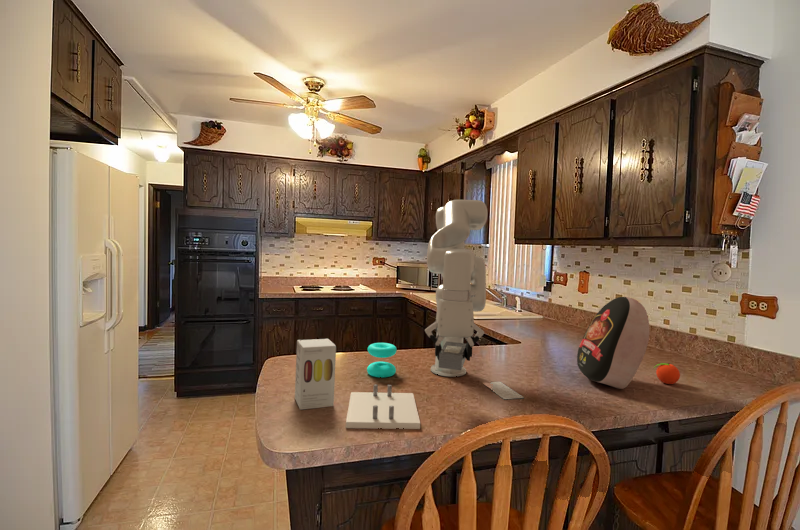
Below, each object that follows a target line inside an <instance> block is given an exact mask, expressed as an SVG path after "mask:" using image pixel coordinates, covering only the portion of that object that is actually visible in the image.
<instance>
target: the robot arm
mask: <svg viewBox="0 0 800 530" xmlns="http://www.w3.org/2000/svg"><path fill="white" fill-rule="evenodd" d="M435 212H436V213H435V224H436V225H435V227H436V230H437V231H436V232H435V233H434V234H433V235H432V236H431V238H430V239H429V241H428V245H427V252H426V253H427V254H426V266H427V270H428V271H429V272H430V273H432V274H437V275H438V274H439V275H441V277H442V280H443V281H442V284H439V286H437V288H436V290H435V302H436V303H435V304H436V315H435V321H434V322H433V323H431V324H430V325H428V326H427V327H426V328H425V329H424V332H425V334H426V336H427V337H428V338H429V339H430V340H431V342H432V343H434V357H435V363H434V364H432V365H431V366H430V372H432V374H435V375H437V374H438V376H441V377H448V378H452V377H453V378H454V377H456V376H457V377H462V376H465V375H466V374H467V369H466V368H465V367H464V366H463V367H462V370H455V369H446V368H439V353H440V351H441V349H442V348H443V346H444V344H445V343H446V341H447V342H456V343H464V338H465V340H466V349H465V358H466V359H465V360H466V361H468V362H469V361H470V360H471V358H473V347H474V345H475V344H476V343H477V342H478V341H480V338H482V337H483V335H484V334H485V331H484V330H483V329H482V328H480V327H479V326H478V325H477V324H476V323H475V316H474V312H482V311H484V309H485V307H486V301H487V282H486V281H487V277H486V276H487V273H486V270H487V269H486V263H485V260H484V258H483V257H482V256H479V255H476V254H475V253H474V251H472V249H468V248H467V249H466V248H465V247H466V243H465V241H467V239H468V238H469V236H470V234H471V232H470V231H479V230H482V228H483V227H484V226H485V225H486V223H487V221H488V208H487V204H486V203H485V202H484V201H482V200H478V199H453V200H449V201H448V202H447V203H446V204H445V205H444V206H441V207H439V208H438V209H437V210H436V211H435ZM434 330H435V332H436V336H435V335H434V334H433V331H434ZM475 331H476V333H475V335H474V332H475Z"/></svg>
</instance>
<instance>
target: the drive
mask: <svg viewBox="0 0 800 530" xmlns="http://www.w3.org/2000/svg"><path fill="white" fill-rule="evenodd" d="M466 344H467V342H466V343H464V342H463V343H456V342H447V341H446V343H445V344H444V346H443V348H442V349H441V351H440V353H439V368H446V369H455V370H462V367H464V364H465V361H466V360H467V359H466V358H465V349H466Z"/></svg>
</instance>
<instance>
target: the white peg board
mask: <svg viewBox="0 0 800 530" xmlns="http://www.w3.org/2000/svg"><path fill="white" fill-rule="evenodd" d="M378 386H379V385H378V384H377V383H376V384H373V387H372V389H373V392H371V391H369V392H365V391H362V392H361V391H360V392H359V391H351V392H350V396H349V402H348V409H347V412H346V413H347V414H346V421H345V429H378V428H379V429H380V428H382V429H385V430H389V429H392V430H396V428H399V430H420V429H421V420H420V417H419V412H418V408H417V404H416V399H415V396H414V393H413V392H392V390H393V389H392V388H393V385H392V384H387V391H386V392H378V391H379V390H378V389H379V387H378ZM403 428H404V429H403ZM380 430H381V429H380Z"/></svg>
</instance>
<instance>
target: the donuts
mask: <svg viewBox="0 0 800 530" xmlns="http://www.w3.org/2000/svg"><path fill="white" fill-rule="evenodd" d="M367 352H368V354H369V355H370V356H372V357H374V358H380V359H381V358H382V359H387V358H391V357H393V356H394V355H396V353H397V352H398V351H397V346H395V345H394V344H392V343H388V342H374V343H371V344H369V345H368V347H367ZM396 368H397V367H396V366H395V364H393V363H391V362H388V361H374V362H371V363H370V364H369V365H368V366H367V368H366V372H367V374H368V375H369V376H371V377H374V378H380V377H381V379H382V378H388V377H389V378H390V377H392V376H394V375H395V374H396V372H397V369H396Z"/></svg>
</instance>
